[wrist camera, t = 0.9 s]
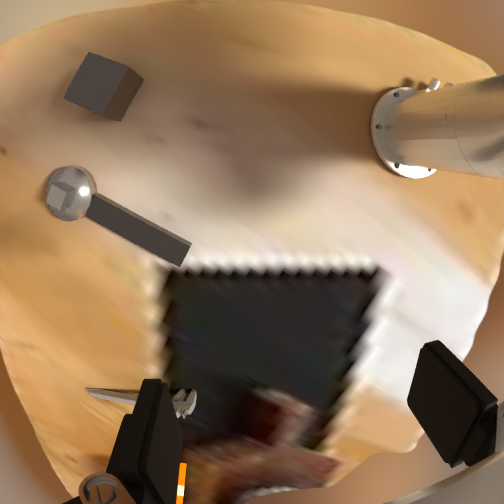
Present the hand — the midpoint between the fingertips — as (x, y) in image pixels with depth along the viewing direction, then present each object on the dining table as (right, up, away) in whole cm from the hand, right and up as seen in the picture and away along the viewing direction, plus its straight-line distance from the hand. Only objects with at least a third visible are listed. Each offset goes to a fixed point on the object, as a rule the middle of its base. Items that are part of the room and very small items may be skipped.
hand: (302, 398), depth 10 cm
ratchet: (-19, +10, +27) cm, 35 cm away
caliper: (-21, -18, +36) cm, 45 cm away
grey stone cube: (-19, +25, +23) cm, 39 cm away
